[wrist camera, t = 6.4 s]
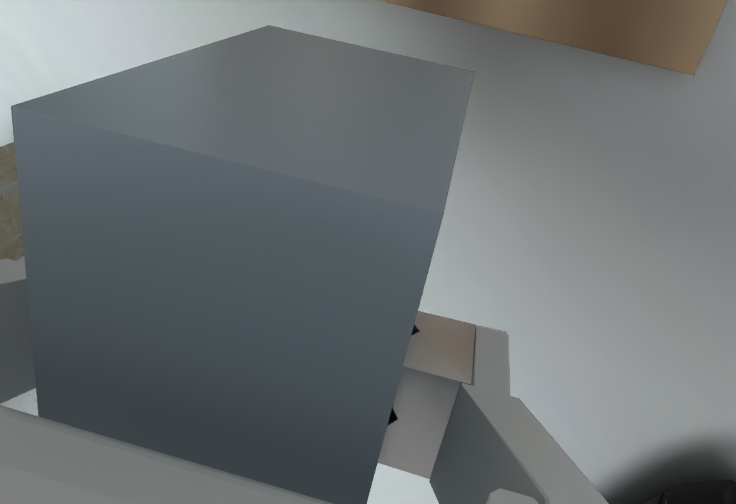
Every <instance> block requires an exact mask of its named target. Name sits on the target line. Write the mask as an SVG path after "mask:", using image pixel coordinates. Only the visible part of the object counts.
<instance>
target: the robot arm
mask: <svg viewBox="0 0 736 504" xmlns="http://www.w3.org/2000/svg"><path fill="white" fill-rule="evenodd" d="M35 388H36V383H35V372H34V360H33V349H32V338H31V326H30V315H29V304H28V292H27V281H26V270H25V258H24V256H23V257H21V258H20V259H18V260H16V261H14V260H10V259H1V260H0V404H1V403H4V402H6V401H8V400H10V399H12V398H15V397H17V396H19V395H21V394H24V393H26V392H28V391H30V390H33V389H35ZM378 463H381V464H384V465H387V466H390V467H393V468H397V469H400V470H403V471H406V472H409V473H412V474H416V475H419V476H422V477H425V478H428V479H430V481H429V482H430V484H431V486H432V488H433V491H434V493H435V495H436V497H437V500H438V502H439V504H609V503H608V502H607V501H606V500H605V499H604V497H603V496H602V495H601V494H600V493H599V491H598V490H597V489H596V488H595V487H594V486H593V484H592V483H591V482H590V481H589V480H588V479H587V477H586V476H585V475H584V474H583V473H582V472H581V470H580V469H579V468H578V467H577V466H576V464H575V463H574V462H573V461H572V460H571V459H570V457H569V456H568V455H567V454H566V453H565V452H564V450H563V449H562V448H561V447H560V446H559V444H558V443H557V442H556V441H555V440H554V439H553V437H552V436H551V435H550V434H549V433H548V432H547V430H546V429H545V428H544V427H543V426H542V425H541V423H540V422H539V421H538V420H537V419H536V417H535V416H534V415H533V414H532V413H531V412H530V410H529V409H528V408H527V407H526V406H525V405H524V403H523V402H522V401H521V400H520V399H519V398H515V397H512V396H510V366H509V335H508V334H507V332H505V331H501V330H496V329H492V328H487V327H483V326H478V325H474V324H470V323H466V322H462V321H458V320H453V319H449V318H445V317H441V316H437V315H432V314H428V313H424V312H420V311H417V315H416V319H415V323H414V327H413V330H412V334H411V338H410V342H409V345H408V349H407V353H406V357H405V360H404V364H403V368H402V372H401V376H400V379H399V383H398V387H397V391H396V394H395V398H394V402H393V406H392V410H391V413H390V417H389V421H388V425H387V428H386V432H385V436H384V440H383V443H382V447H381V451H380V455H379V459H378ZM0 504H333V503H329V502H326V501H322V500H319V499H316V498H312V497H309V496H306V495H302V494H299V493H295V492H292V491H289V490H285V489H282V488H279V487H275V486H272V485H268V484H265V483H262V482H258V481H255V480H252V479H248V478H245V477H241V476H238V475H235V474H231V473H228V472H225V471H221V470H218V469H214V468H211V467H208V466H204V465H201V464H197V463H194V462H191V461H187V460H184V459H180V458H177V457H174V456H170V455H167V454H163V453H160V452H157V451H153V450H150V449H147V448H143V447H140V446H136V445H133V444H130V443H126V442H123V441H120V440H116V439H113V438H110V437H106V436H103V435H99V434H96V433H93V432H89V431H86V430H83V429H79V428H76V427H72V426H69V425H66V424H62V423H59V422H56V421H52V420H49V419H45V418H42V417H39V416H35V415H32V414H29V413H25V412H22V411H18V410H15V409H12V408H8V407H5V406H2V405H0Z"/></svg>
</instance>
